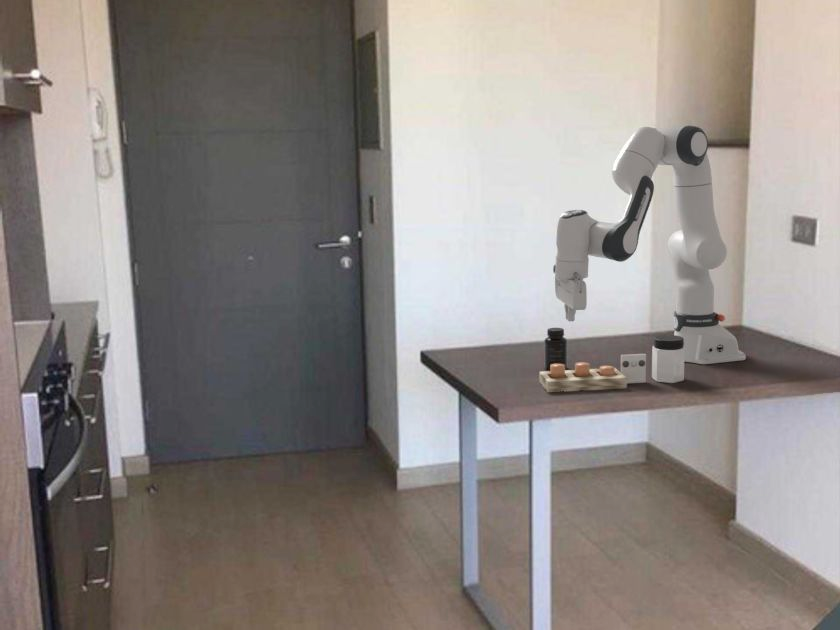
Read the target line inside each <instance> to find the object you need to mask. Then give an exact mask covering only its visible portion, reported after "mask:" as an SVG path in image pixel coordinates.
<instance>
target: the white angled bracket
mask: <svg viewBox="0 0 840 630" xmlns="http://www.w3.org/2000/svg"><path fill="white" fill-rule="evenodd" d="M620 372H621V373H622V374H623V375H624V376H625V377H627V384H642V383H647V380H646V379H647V377H646V376H647V374H646V373H647V354H646V353H636V354H632V353H631V354H620Z"/></svg>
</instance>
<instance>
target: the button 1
mask: <svg viewBox="0 0 840 630" xmlns="http://www.w3.org/2000/svg"><path fill="white" fill-rule="evenodd" d="M565 370H566V369H565V365H564V364H551V365H550V370H549V371H550V376H551V377H554V378H561V377H565Z"/></svg>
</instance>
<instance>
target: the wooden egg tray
mask: <svg viewBox="0 0 840 630" xmlns="http://www.w3.org/2000/svg"><path fill="white" fill-rule="evenodd" d="M538 373H539V374H538V380H539V381H538V382H539V384H540V385H541V384H542V385H541V386H542V387H543V388H544V390H545V389H546V390H547V391H546V390H545V391H546V392H547V393H560V391H561V392H562V391H564V392H579V391H580V390H583V391H601V390H621V389H627V388H628V383H627V377H625V376H624V375H623V374H622V373H621V370H619V369H617V368H616V367H614V375H612V376H600V368H590V375H589V376H576V375H575V369H565V377H561V378H554V377H551V376H550V370H545V371H543V370H542V371H539V372H538ZM580 392H581V391H580Z"/></svg>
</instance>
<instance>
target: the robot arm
mask: <svg viewBox="0 0 840 630" xmlns="http://www.w3.org/2000/svg"><path fill="white" fill-rule="evenodd" d="M708 148H709V141H708V137H707V135H706V132H704V129H702V128H700V127H699V126H694V125H669V126H665V127H664V126H663V127H658V128H654V127H651V126H643V127H640V128H637V130H636V131H634V133H633V134H632V135H631V136H630V137H629V138H628V140H627V141H626V143H625V144H624V146H623V147H622V149H621V150H620V152H619V154H618V155H617V157H616V158H615V161H614V163H613V165H612V169H611V175H612V179H613V182H614V184H616V186H618V188H619V189H620V190H621V191H622V192H624V194H625V193H626V194H627V195H628V196H629V200H628V203H627V205H626V208H625V210H624V214H623V215H622V217H621V219H620V220H619V221H617V222H606V221H605V222H604V221H599V220H598V219H597V220H596V219H595V218H593V217H591V216H590V215H589V213H588V212H587V211H586V210H583V209H573V210H572V209H571V210H567V211H564V212H563V213H561V214H560V216H559V218H558V221H557V227H556V237H555V239H556V247H557V248H556V249H557V253H556V256H555V264H554V265H553V268H552V270H553V274H554V290H555V296H556V298H557V299H558V300H560V301H561V302H562V303H564V311H565V320H567V321H568V322H574V321H575V318H576V316H575V315H576V312H577V311H585V310H586V308H587V306H588V305H587V301H588V299H587V297H588V295H587V292H588V291H587V284H586V282H585V281H584V279H586V278H588V277H589V262H590V261H589V258H590V256H591V257H596V258H603V259H608V260H612V261H616V262H618V263H619V262H620V263H622V262H625V261H627V260H629V259H630V258H631V257H632V256H633V255H634V254H635V252H636V251H637V247H638V244H639V239H640V234H641V230H642V227H643V224H644V222H645V219H646V216H647V213H648V211H649V207H650V206H651V203H652V199H653V196H654V192H655V191H654V189H655V185H654V182H653V180H652V178H653V176H654V173H655V171H656V169H657V168H658V165H661V166H672V168H673V183H672V184H673V200H674V213H675V215H676V217H677V219H678V221H679V225H680V228H681V229H679V230H676V231H675V232H673V233H672V234H671V235H670V237H669V238H668V241H667V250H668V252H669V254H670V258H671V262H672V269H673V274H674V279H675V280H674V281H675V290H676V292H675V311H674V314H673V330H674V334H673V335H676V336H680V337H683V339H684V345H683V348H685V358H684V363H685V362H686V363H694V364H699V365H709V364H712V365H713V364H719V363H730V362H738V361H739V362H740V361H745V360H746V359H747V355H746V354H745V353H744V352H743V351H741V350H739V343H738V340H737V337H736V336H735V335H734V334H733V333H731V332H730V331H729V330H727V329H726V328H725V327H724V326H723V325H721V324H720V322H721V323H723V322H725V320H726V317H725V315H723V314H721V313H717V312H715V311H714V308H715V307H714V305H715V304H714V303H715V287H714V286H715V285H714V284H713V281H712V278H711V275H710V271H709V270H714V269H717V268H720V266H722V265H723V263H724V262H725V260H726V258H727V254H728V253H727V246H726V244H725V242H724V240H723V239H722V237H721V233H720V229H719V226H718V221H717V217H716V213H715V208H714V194H713V192H714V191H713V177H712V168H711V164H710V159H709V156H708V152H707V151H708Z"/></svg>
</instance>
